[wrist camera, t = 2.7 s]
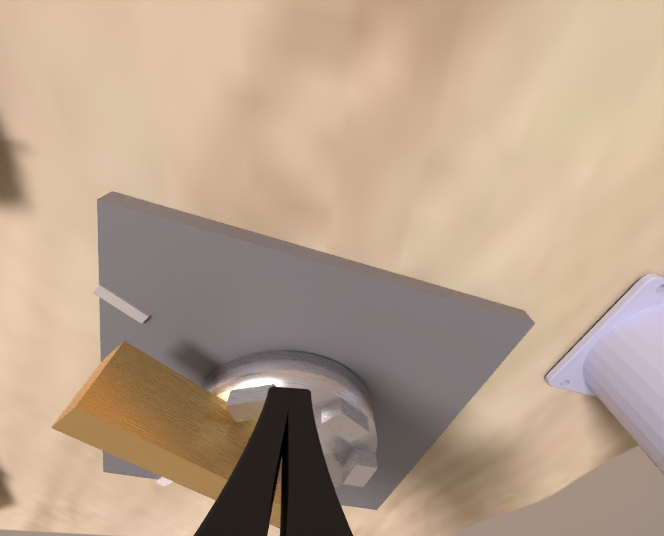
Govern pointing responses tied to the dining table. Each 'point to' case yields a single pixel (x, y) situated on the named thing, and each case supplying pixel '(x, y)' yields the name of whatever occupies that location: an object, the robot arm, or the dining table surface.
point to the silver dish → (218, 416)
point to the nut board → (296, 323)
